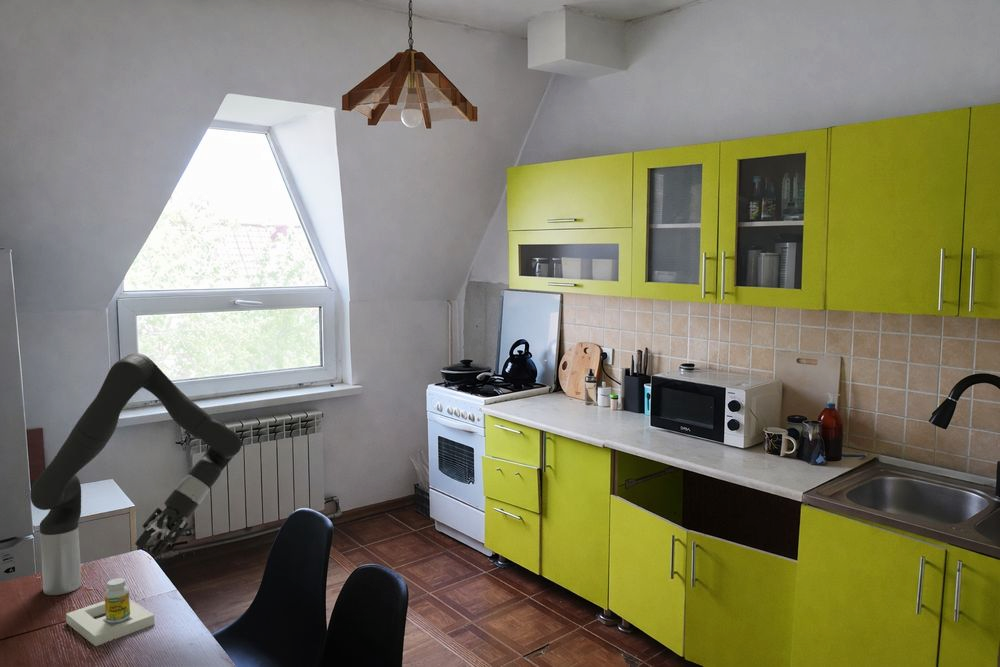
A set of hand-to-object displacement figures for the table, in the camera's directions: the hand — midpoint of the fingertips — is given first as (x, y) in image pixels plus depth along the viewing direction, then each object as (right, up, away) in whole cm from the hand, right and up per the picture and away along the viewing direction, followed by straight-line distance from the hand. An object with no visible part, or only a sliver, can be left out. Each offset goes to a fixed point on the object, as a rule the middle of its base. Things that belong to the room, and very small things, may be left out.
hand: (145, 550), depth 183 cm
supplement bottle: (-5, -16, -4) cm, 17 cm away
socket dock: (-8, -18, -1) cm, 20 cm away
